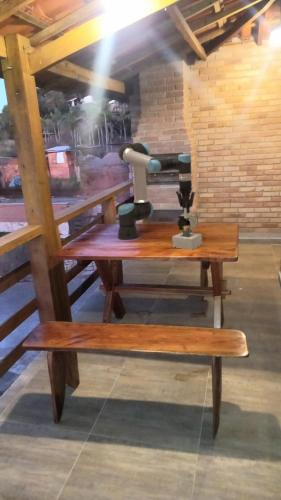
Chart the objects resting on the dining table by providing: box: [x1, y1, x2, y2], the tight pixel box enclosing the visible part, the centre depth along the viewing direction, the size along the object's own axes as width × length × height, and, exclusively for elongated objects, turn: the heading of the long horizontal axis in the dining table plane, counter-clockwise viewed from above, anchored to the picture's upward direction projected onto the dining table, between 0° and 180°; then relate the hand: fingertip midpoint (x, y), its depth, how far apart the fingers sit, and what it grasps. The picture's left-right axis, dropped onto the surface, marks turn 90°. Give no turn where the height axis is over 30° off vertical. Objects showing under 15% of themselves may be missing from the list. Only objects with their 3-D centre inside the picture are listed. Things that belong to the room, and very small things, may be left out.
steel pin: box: [182, 225, 190, 237], centre depth 244 cm, size 4×4×12 cm
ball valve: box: [177, 211, 199, 233], centre depth 263 cm, size 18×8×18 cm, turn 148°
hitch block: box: [171, 231, 203, 251], centre depth 245 cm, size 14×13×7 cm
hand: (186, 217), depth 240 cm, fingers closed
